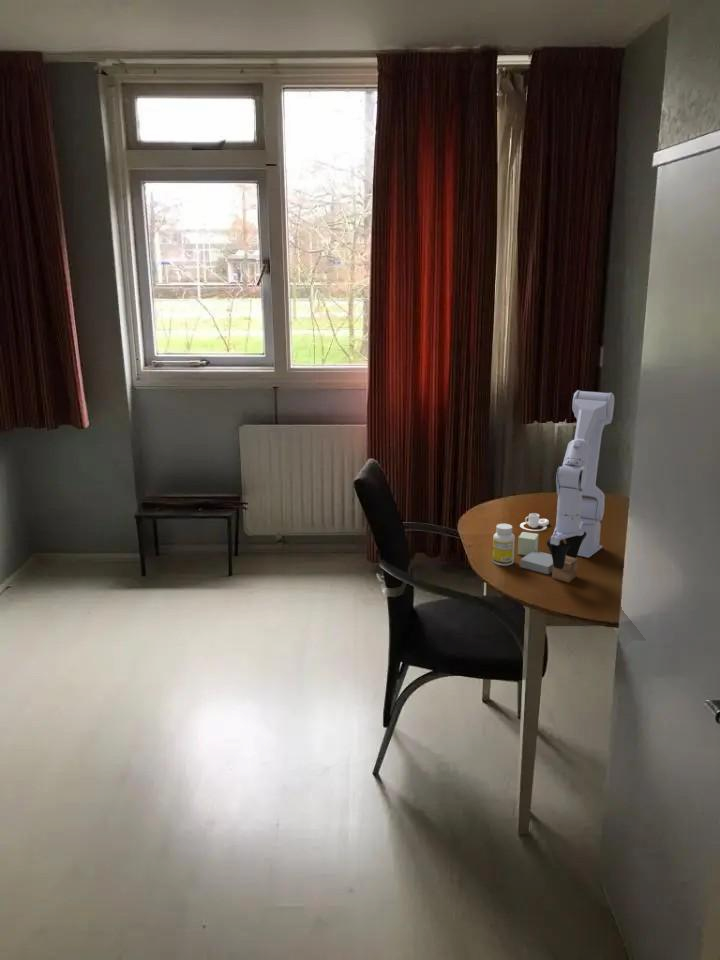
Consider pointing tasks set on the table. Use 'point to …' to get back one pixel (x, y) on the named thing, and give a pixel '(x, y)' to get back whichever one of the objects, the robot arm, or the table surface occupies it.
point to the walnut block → (566, 570)
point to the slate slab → (538, 562)
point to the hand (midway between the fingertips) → (565, 563)
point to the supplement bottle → (503, 545)
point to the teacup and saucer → (535, 522)
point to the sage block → (527, 543)
